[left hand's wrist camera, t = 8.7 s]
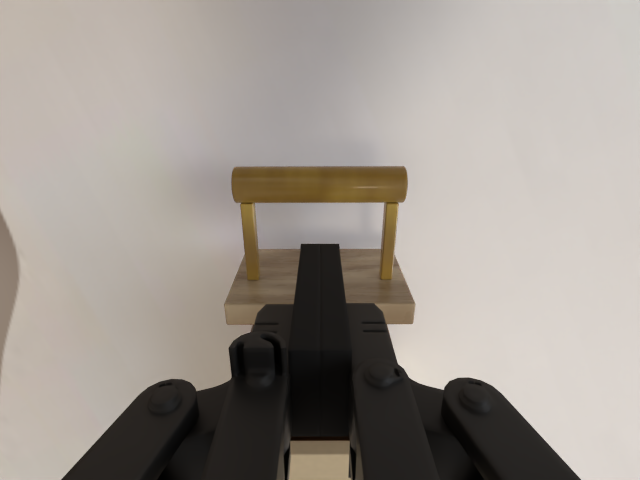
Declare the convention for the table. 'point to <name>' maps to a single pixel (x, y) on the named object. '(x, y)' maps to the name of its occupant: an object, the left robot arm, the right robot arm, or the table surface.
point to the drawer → (282, 264)
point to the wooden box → (319, 460)
